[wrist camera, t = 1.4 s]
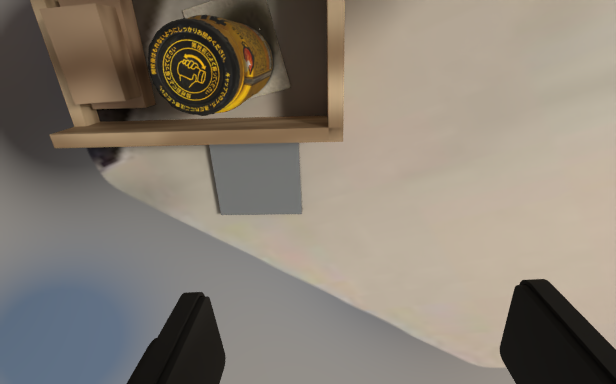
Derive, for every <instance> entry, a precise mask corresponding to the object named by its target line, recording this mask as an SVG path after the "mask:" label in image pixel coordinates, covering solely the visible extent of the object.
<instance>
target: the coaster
mask: <svg viewBox="0 0 616 384" xmlns="http://www.w3.org/2000/svg"><path fill="white" fill-rule="evenodd" d="M209 148H210V154H211V159H212V165H213V171H214V177H215V182H216V188H217V194H218V200H219V206H220V211H221V215H258V214H302V196H301V175H300V155H299V143H258V144H215V145H209Z"/></svg>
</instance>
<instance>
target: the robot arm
mask: <svg viewBox="0 0 616 384" xmlns="http://www.w3.org/2000/svg"><path fill="white" fill-rule="evenodd" d="M500 354H501V358H502V360H503V362H504V364H505V365H506V367H507V369H508V371H509V372H510V374H511V376H512V377H513V379H514V381H515V383H516V384H616V350H615V349H614V348H613V346H612V345H611V344H610V343H609V342H608V341H607V340H606V339H605V338H604V337H603V336H602V335H601V334H600V333H599V332H598V331H597V330H596V329H595V328H594V327H593V326H592V325H591V324H590V323H589V322H588V321H587V320H586V319H585V318H584V317H583V316H582V315H581V314H580V313H579V312H578V311H577V310H576V309H575V308H574V307H573V306H572V305H571V304H570V303H569V302H568V301H567V299H566V298H565V297H564V296H563V295H562V294H561V293H560V292H559V291H558V290H557V289H556V288H555V287H554V286H553V285H552V284H551V283H550V282H549V281H547V280H545V279H536V280H522V281H521V282H520V285H517V286H516V287H515V289H514V293H513V297H512V301H511V305H510V309H509V313H508V317H507V321H506V325H505V329H504V333H503V337H502V341H501V345H500ZM224 366H225V352H224V349H223V345H222V341H221V338H220V334H219V331H218V327H217V323H216V319H215V316H214V312H213V309H212V305H211V302H210V298H209V297H205V296H204V294H203V293H202V292H192V293H183V294H182V295H181V297H180V298H179V300H178V302H177V304H176V306H175V308H174V309H173V311H172V313H171V315H170V316H169V318H168V320H167V322H166V323H165V325H164V327H163V329H162V331H161V332H160V334H159V336H158V338H155V339H154V340H153V341H152V342H151V343H150V345H149V346H148V348H147V349H146V351H145V353H144V355H143V356H142V358H141V360H140V361H139V363H138V365H137V367H136V369H135V370H134V372H133V374H132V375H131V377H130V379H129V381H128V383H127V384H219V383H220V380H221V376H222V373H223V370H224Z"/></svg>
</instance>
